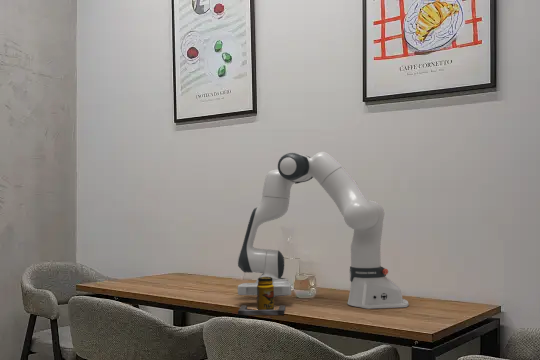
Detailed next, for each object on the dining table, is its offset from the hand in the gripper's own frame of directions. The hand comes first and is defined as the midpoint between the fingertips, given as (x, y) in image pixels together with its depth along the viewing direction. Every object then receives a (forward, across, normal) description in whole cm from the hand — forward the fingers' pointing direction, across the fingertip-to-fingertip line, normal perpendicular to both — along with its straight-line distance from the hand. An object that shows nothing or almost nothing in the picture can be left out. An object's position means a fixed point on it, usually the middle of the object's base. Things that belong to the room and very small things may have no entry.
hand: (262, 292), depth 228 cm
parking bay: (+4, 0, +6) cm, 8 cm away
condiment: (+3, 0, +6) cm, 7 cm away
